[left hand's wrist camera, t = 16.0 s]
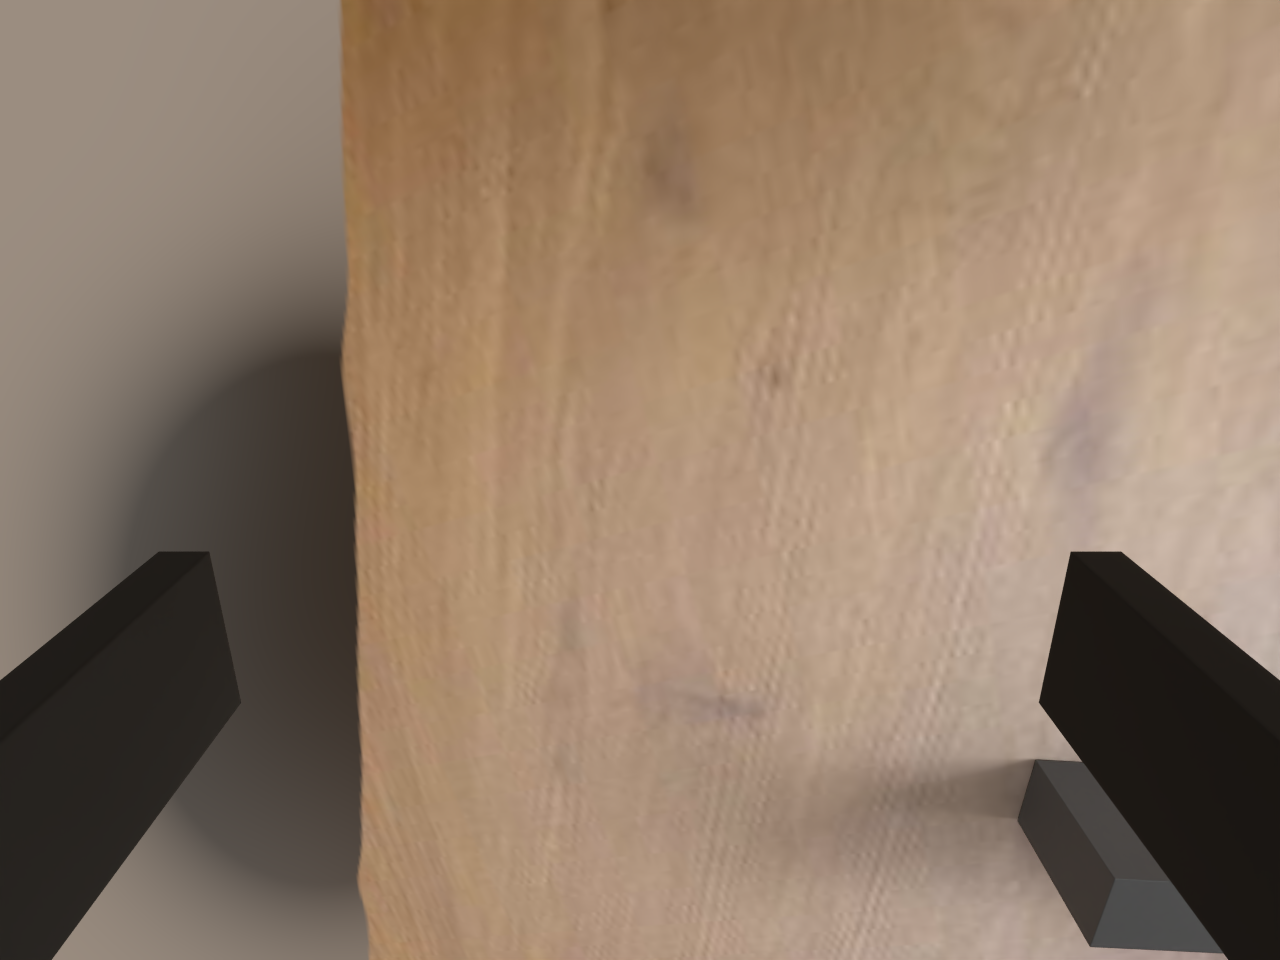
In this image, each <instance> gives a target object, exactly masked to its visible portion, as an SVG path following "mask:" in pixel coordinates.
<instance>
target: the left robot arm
mask: <svg viewBox="0 0 1280 960" xmlns="http://www.w3.org/2000/svg"><path fill="white" fill-rule="evenodd" d="M240 703H241V700H240V695H239V690H238V686H237V681H236V676H235V671H234V667H233V662H232V657H231V653H230V648H229V643H228V638H227V634H226V629H225V624H224V619H223V615H222V610H221V605H220V601H219V596H218V591H217V586H216V582H215V577H214V572H213V567H212V563H211V558H210V553H209V552H158V553H157V554H155V555H154V556H153V557H152V558H151V559H149V560H148V561H147V562H146V563H144V564H143V565H142V566H141V567H139V568H138V569H137V570H136V571H135V572H133V573H132V574H131V575H130V576H128V577H127V578H126V579H125V580H123V581H122V582H121V583H120V584H118V585H117V586H116V587H115V588H114V589H112V590H111V591H110V592H109V593H107V594H106V595H105V596H104V597H103V598H101V599H100V600H99V601H98V602H96V603H95V604H94V605H93V606H91V607H90V608H89V609H88V610H86V611H85V612H84V613H83V614H82V615H80V616H79V617H78V618H77V619H75V620H74V621H73V622H72V623H71V624H69V625H68V626H67V627H66V628H64V629H63V630H62V631H61V632H59V633H58V634H57V635H56V636H54V637H53V638H52V639H51V640H49V641H48V642H47V643H46V644H45V645H43V646H42V647H41V648H40V649H38V650H37V651H36V652H35V653H33V654H32V655H31V656H30V657H29V658H27V659H26V660H25V661H24V662H22V663H21V664H20V665H19V666H17V667H16V668H15V669H14V670H13V671H11V672H10V673H9V674H8V675H6V676H5V677H4V678H3V679H1V680H0V960H52V959H53V957H54V956H55V954H56V953H57V952H58V950H59V949H60V948H61V946H62V945H63V944H64V942H65V941H66V940H67V938H68V937H69V935H70V934H71V933H72V931H73V930H74V929H75V927H76V926H77V925H78V923H79V922H80V921H81V919H82V918H83V916H84V915H85V914H86V912H87V911H88V910H89V908H90V907H91V906H92V904H93V903H94V901H95V900H96V899H97V897H98V896H99V895H100V893H101V892H102V891H103V889H104V888H105V887H106V885H107V884H108V882H109V881H110V880H111V878H112V877H113V876H114V874H115V873H116V872H117V870H118V869H119V868H120V866H121V865H122V863H123V862H124V861H125V859H126V858H127V857H128V855H129V854H130V853H131V851H132V850H133V849H134V847H135V846H136V845H137V843H138V842H139V840H140V839H141V838H142V836H143V835H144V834H145V832H146V831H147V830H148V828H149V827H150V826H151V824H152V823H153V821H154V820H155V819H156V817H157V816H158V815H159V813H160V812H161V811H162V809H163V808H164V807H165V805H166V804H167V802H168V801H169V800H170V798H171V797H172V796H173V794H174V793H175V792H176V790H177V789H178V788H179V786H180V785H181V783H182V782H183V781H184V779H185V778H186V777H187V775H188V774H189V773H190V771H191V770H192V769H193V767H194V766H195V764H196V763H197V762H198V760H199V759H200V758H201V756H202V755H203V754H204V752H205V751H206V749H207V748H208V747H209V745H210V744H211V743H212V741H213V740H214V739H215V737H216V736H217V735H218V733H219V732H220V730H221V729H222V728H223V726H224V725H225V724H226V722H227V721H228V720H229V718H230V717H231V716H232V714H233V713H234V712H235V710H236V709H237V707H238V706H239V705H240ZM1039 703H1040V705H1041V706H1042V707H1043V709H1044V710H1045V712H1046V713H1047V714H1048V716H1049V717H1050V718H1051V720H1052V721H1053V722H1054V724H1055V725H1056V726H1057V728H1058V729H1059V731H1060V732H1061V733H1062V735H1063V736H1064V737H1065V739H1066V740H1067V741H1068V743H1069V744H1070V745H1071V747H1072V748H1073V750H1074V751H1075V752H1076V754H1077V755H1078V756H1079V758H1080V759H1081V760H1082V762H1083V763H1084V764H1085V766H1086V767H1087V769H1088V770H1089V771H1090V773H1091V774H1092V775H1093V777H1094V778H1095V779H1096V781H1097V782H1098V783H1099V785H1100V786H1101V788H1102V789H1103V790H1104V792H1105V793H1106V794H1107V796H1108V797H1109V798H1110V800H1111V801H1112V802H1113V804H1114V805H1115V807H1116V808H1117V809H1118V811H1119V812H1120V813H1121V815H1122V816H1123V817H1124V819H1125V820H1126V821H1127V823H1128V824H1129V826H1130V827H1131V828H1132V830H1133V831H1134V832H1135V834H1136V835H1137V836H1138V838H1139V839H1140V840H1141V842H1142V843H1143V845H1144V846H1145V847H1146V849H1147V850H1148V851H1149V853H1150V854H1151V855H1152V857H1153V858H1154V859H1155V861H1156V862H1157V864H1158V865H1159V866H1160V868H1161V869H1162V870H1163V872H1164V873H1165V874H1166V876H1167V877H1168V878H1169V880H1170V881H1171V883H1172V884H1173V885H1174V887H1175V888H1176V889H1177V891H1178V892H1179V893H1180V895H1181V896H1182V897H1183V899H1184V900H1185V902H1186V903H1187V904H1188V906H1189V907H1190V908H1191V910H1192V911H1193V912H1194V914H1195V915H1196V916H1197V918H1198V919H1199V921H1200V922H1201V923H1202V925H1203V926H1204V927H1205V929H1206V930H1207V931H1208V933H1209V934H1210V935H1211V937H1212V938H1213V940H1214V941H1215V942H1216V944H1217V945H1218V946H1219V948H1220V949H1221V950H1222V952H1223V953H1224V954H1225V956H1226V957H1227V959H1228V960H1280V680H1279V679H1277V678H1276V677H1275V676H1274V675H1272V674H1271V673H1270V672H1269V671H1267V670H1266V669H1265V668H1264V667H1263V666H1261V665H1260V664H1259V663H1258V662H1256V661H1255V660H1254V659H1253V658H1251V657H1250V656H1249V655H1248V654H1247V653H1245V652H1244V651H1243V650H1242V649H1240V648H1239V647H1238V646H1237V645H1235V644H1234V643H1233V642H1232V641H1231V640H1229V639H1228V638H1227V637H1226V636H1224V635H1223V634H1222V633H1221V632H1219V631H1218V630H1217V629H1216V628H1214V627H1213V626H1212V625H1211V624H1210V623H1208V622H1207V621H1206V620H1205V619H1203V618H1202V617H1201V616H1200V615H1198V614H1197V613H1196V612H1195V611H1194V610H1192V609H1191V608H1190V607H1189V606H1187V605H1186V604H1185V603H1184V602H1182V601H1181V600H1180V599H1179V598H1178V597H1176V596H1175V595H1174V594H1173V593H1171V592H1170V591H1169V590H1168V589H1166V588H1165V587H1164V586H1163V585H1162V584H1160V583H1159V582H1158V581H1157V580H1155V579H1154V578H1153V577H1152V576H1150V575H1149V574H1148V573H1147V572H1146V571H1144V570H1143V569H1142V568H1141V567H1139V566H1138V565H1137V564H1136V563H1134V562H1133V561H1132V560H1131V559H1129V558H1128V557H1127V556H1126V555H1125V554H1123V553H1122V552H1071V553H1070V558H1069V563H1068V567H1067V572H1066V577H1065V582H1064V586H1063V591H1062V596H1061V601H1060V605H1059V610H1058V615H1057V619H1056V624H1055V629H1054V634H1053V638H1052V643H1051V648H1050V653H1049V657H1048V662H1047V667H1046V671H1045V676H1044V681H1043V686H1042V690H1041V695H1040V700H1039Z"/></svg>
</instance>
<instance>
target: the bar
mask: <svg viewBox="0 0 1280 960" xmlns="http://www.w3.org/2000/svg"><path fill="white" fill-rule="evenodd" d="M1018 822H1019V824H1020V826H1021V828H1022V829H1023V831H1024V833H1025V835H1026V836H1027V838H1028V840H1029V842H1030V843H1031V845H1032V847H1033V848H1034V850H1035V852H1036V854H1037V855H1038V857H1039V859H1040V861H1041V862H1042V864H1043V866H1044V868H1045V869H1046V871H1047V873H1048V875H1049V876H1050V878H1051V880H1052V882H1053V883H1054V885H1055V887H1056V888H1057V890H1058V892H1059V894H1060V895H1061V897H1062V899H1063V901H1064V902H1065V904H1066V906H1067V908H1068V909H1069V911H1070V913H1071V915H1072V916H1073V918H1074V920H1075V922H1076V923H1077V925H1078V927H1079V928H1080V930H1081V932H1082V934H1083V935H1084V937H1085V939H1086V941H1087V942H1088V944H1089V946H1090V947H1103V948H1123V949H1144V950H1164V951H1185V952H1206V953H1223V952H1222V950H1221V949H1220V948H1219V946H1218V945H1217V944H1216V942H1215V941H1214V940H1213V938H1212V937H1211V935H1210V934H1209V933H1208V931H1207V930H1206V929H1205V927H1204V926H1203V925H1202V923H1201V922H1200V921H1199V919H1198V918H1197V916H1196V915H1195V914H1194V912H1193V911H1192V910H1191V908H1190V907H1189V906H1188V904H1187V903H1186V902H1185V900H1184V899H1183V897H1182V896H1181V895H1180V893H1179V892H1178V891H1177V889H1176V888H1175V887H1174V885H1173V884H1172V883H1171V881H1170V880H1169V878H1168V877H1167V876H1166V874H1165V873H1164V872H1163V870H1162V869H1161V868H1160V866H1159V865H1158V864H1157V862H1156V861H1155V859H1154V858H1153V857H1152V855H1151V854H1150V853H1149V851H1148V850H1147V849H1146V847H1145V846H1144V845H1143V843H1142V842H1141V840H1140V839H1139V838H1138V836H1137V835H1136V834H1135V832H1134V831H1133V830H1132V828H1131V827H1130V826H1129V824H1128V823H1127V821H1126V820H1125V819H1124V817H1123V816H1122V815H1121V813H1120V812H1119V811H1118V809H1117V808H1116V807H1115V805H1114V804H1113V802H1112V801H1111V800H1110V798H1109V797H1108V796H1107V794H1106V793H1105V792H1104V790H1103V789H1102V788H1101V786H1100V785H1099V783H1098V782H1097V781H1096V779H1095V778H1094V777H1093V775H1092V774H1091V773H1090V771H1089V770H1088V769H1087V767H1086V766H1085V764H1084V763H1083V762H1067V761H1049V760H1036V761H1035V764H1034V768H1033V771H1032V774H1031V778H1030V781H1029V784H1028V788H1027V791H1026V794H1025V798H1024V801H1023V804H1022V808H1021V811H1020V814H1019V818H1018Z"/></svg>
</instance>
